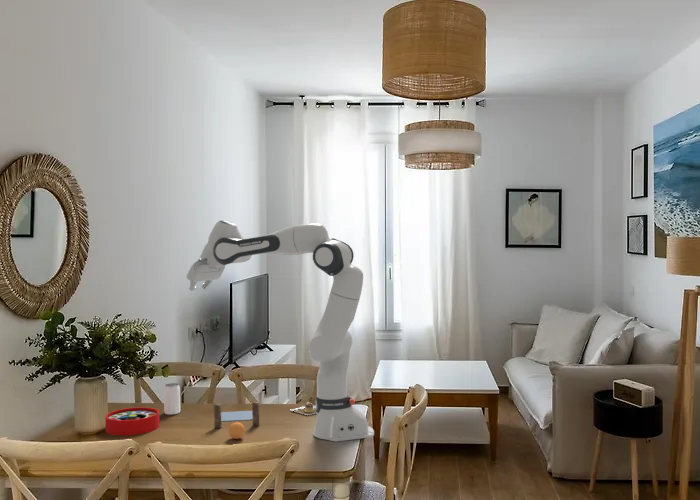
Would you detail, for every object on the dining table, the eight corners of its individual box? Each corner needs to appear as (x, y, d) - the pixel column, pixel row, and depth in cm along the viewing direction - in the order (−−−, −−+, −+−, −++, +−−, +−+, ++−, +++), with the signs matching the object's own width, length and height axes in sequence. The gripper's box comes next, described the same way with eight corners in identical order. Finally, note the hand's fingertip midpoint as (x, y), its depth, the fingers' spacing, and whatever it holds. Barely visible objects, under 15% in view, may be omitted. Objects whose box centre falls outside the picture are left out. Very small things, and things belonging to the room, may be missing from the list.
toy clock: (164, 416, 261) (109, 423, 252) (164, 431, 262) (110, 439, 252) (153, 405, 279) (101, 411, 270) (153, 419, 279) (101, 426, 270)
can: (176, 415, 284) (175, 386, 283) (161, 414, 285) (161, 386, 285) (182, 411, 290) (182, 383, 290) (168, 410, 291) (168, 382, 291)
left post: (221, 426, 265) (221, 403, 265) (221, 428, 263) (220, 405, 263) (214, 427, 265) (214, 404, 265) (214, 428, 262) (213, 405, 262)
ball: (245, 435, 253) (244, 419, 253) (245, 440, 247) (244, 424, 247) (228, 436, 252) (228, 420, 252) (228, 441, 246) (228, 425, 246)
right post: (259, 424, 268) (258, 401, 268) (259, 426, 265) (259, 403, 265) (252, 424, 267) (252, 402, 267) (252, 426, 265) (252, 403, 265)
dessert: (329, 412, 287) (329, 401, 287) (307, 417, 279) (306, 406, 279) (311, 407, 296) (311, 396, 296) (289, 412, 288) (289, 401, 288)
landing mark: (254, 410, 289) (254, 410, 289) (254, 419, 275) (254, 419, 275) (220, 412, 287) (220, 412, 287) (219, 421, 273) (219, 421, 273)
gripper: (204, 263, 257) (189, 295, 259) (230, 261, 276) (217, 291, 278) (191, 255, 258) (177, 287, 261) (218, 253, 278) (204, 283, 280)
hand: (197, 289), depth 270 cm, fingers open, 8 cm apart
